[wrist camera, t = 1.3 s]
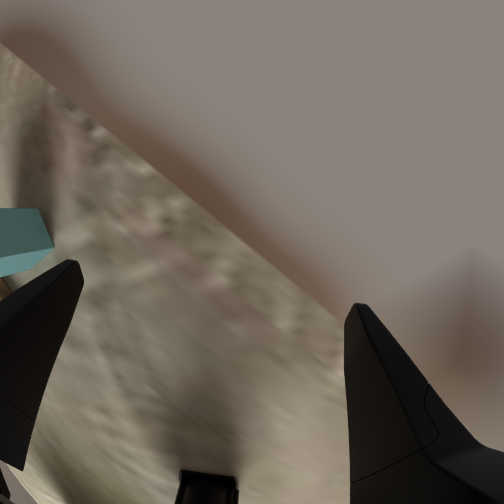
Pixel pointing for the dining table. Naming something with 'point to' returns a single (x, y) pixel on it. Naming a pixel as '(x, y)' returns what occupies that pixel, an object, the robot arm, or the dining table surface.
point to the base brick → (4, 289)
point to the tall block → (22, 239)
